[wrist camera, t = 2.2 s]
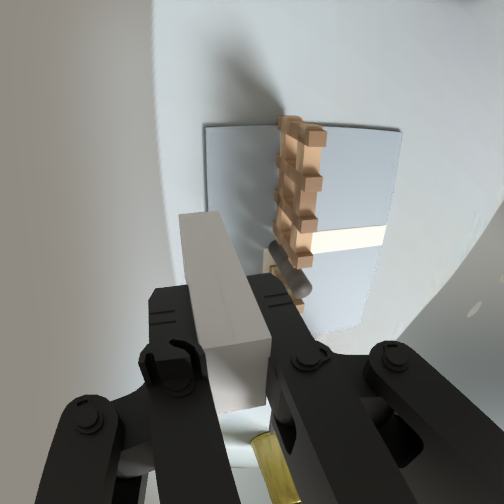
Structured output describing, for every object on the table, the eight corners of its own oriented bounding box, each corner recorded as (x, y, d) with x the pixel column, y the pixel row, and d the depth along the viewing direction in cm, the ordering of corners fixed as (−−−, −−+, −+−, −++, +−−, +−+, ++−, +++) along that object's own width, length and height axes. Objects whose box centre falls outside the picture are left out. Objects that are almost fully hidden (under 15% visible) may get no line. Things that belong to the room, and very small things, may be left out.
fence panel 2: (268, 240, 29) (293, 283, 24) (285, 238, 30) (313, 280, 24) (263, 339, 36) (280, 384, 31) (276, 337, 36) (295, 381, 31)
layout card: (205, 127, 23) (206, 128, 23) (400, 131, 27) (402, 132, 27) (217, 350, 36) (217, 353, 35) (358, 323, 39) (359, 325, 39)
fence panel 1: (285, 232, 29) (311, 270, 24) (272, 233, 29) (296, 272, 24) (292, 114, 23) (327, 128, 18) (277, 114, 23) (309, 127, 18)
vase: (289, 433, 52) (315, 499, 41) (264, 447, 54) (286, 511, 42) (269, 428, 49) (294, 500, 37) (243, 443, 50) (264, 512, 39)
